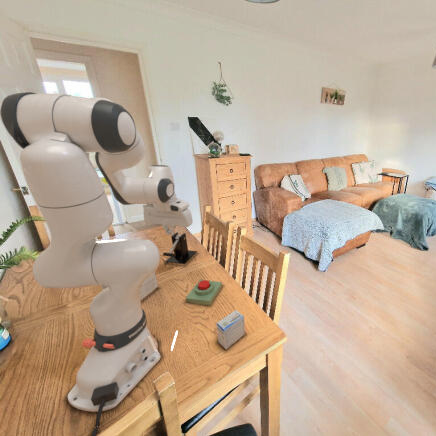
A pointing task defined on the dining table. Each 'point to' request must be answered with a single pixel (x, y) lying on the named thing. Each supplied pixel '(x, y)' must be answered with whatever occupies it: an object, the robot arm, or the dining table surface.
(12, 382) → the dining table surface
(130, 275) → the robot arm
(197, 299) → the button block
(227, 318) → the medicine box
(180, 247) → the lever bracket
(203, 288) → the button
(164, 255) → the press lever
